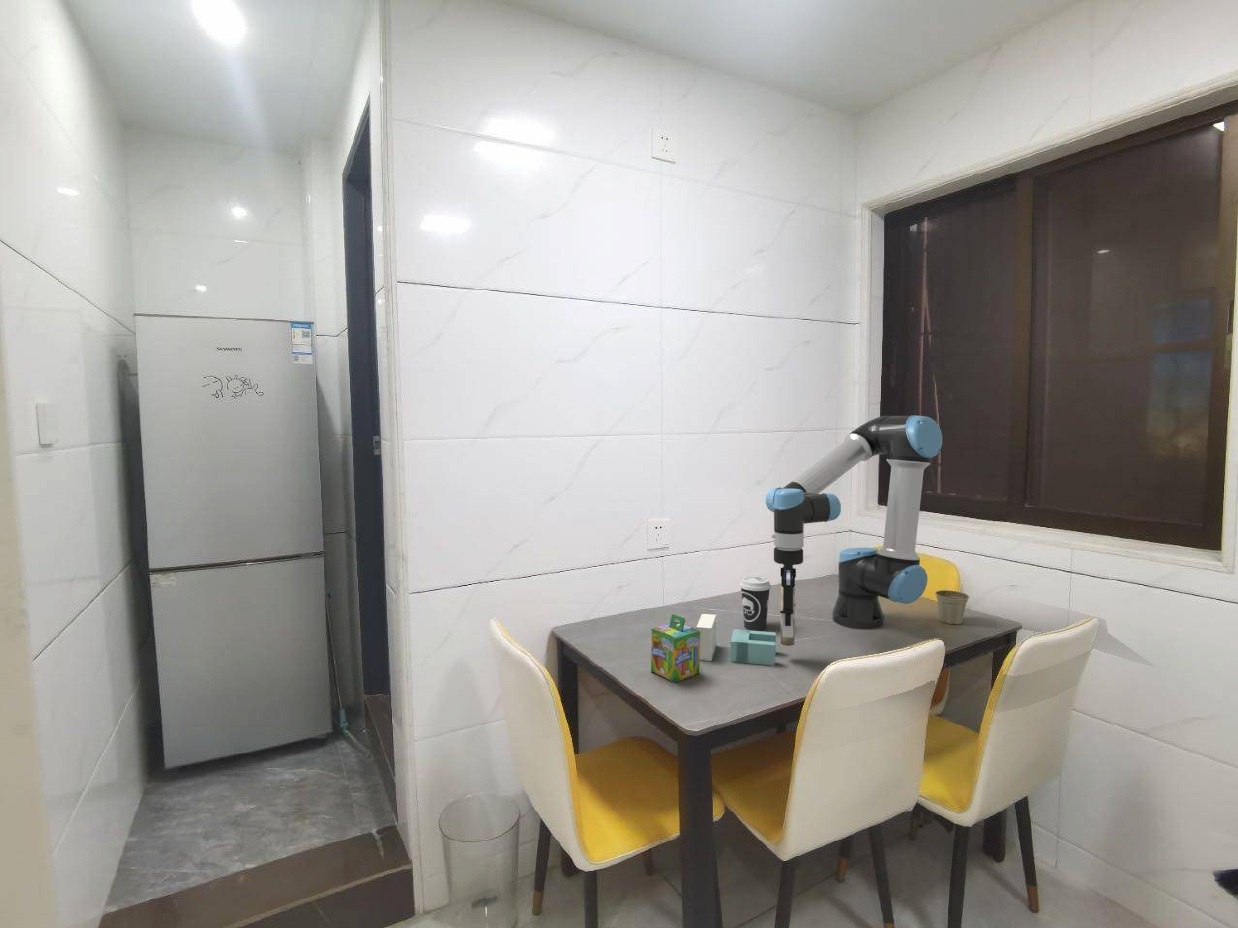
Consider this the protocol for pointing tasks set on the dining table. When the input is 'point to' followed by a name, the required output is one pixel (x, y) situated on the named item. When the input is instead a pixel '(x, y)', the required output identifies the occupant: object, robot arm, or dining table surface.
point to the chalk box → (675, 650)
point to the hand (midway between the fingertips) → (787, 633)
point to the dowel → (787, 640)
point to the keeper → (753, 647)
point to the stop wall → (707, 636)
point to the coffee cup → (755, 602)
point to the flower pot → (951, 606)
